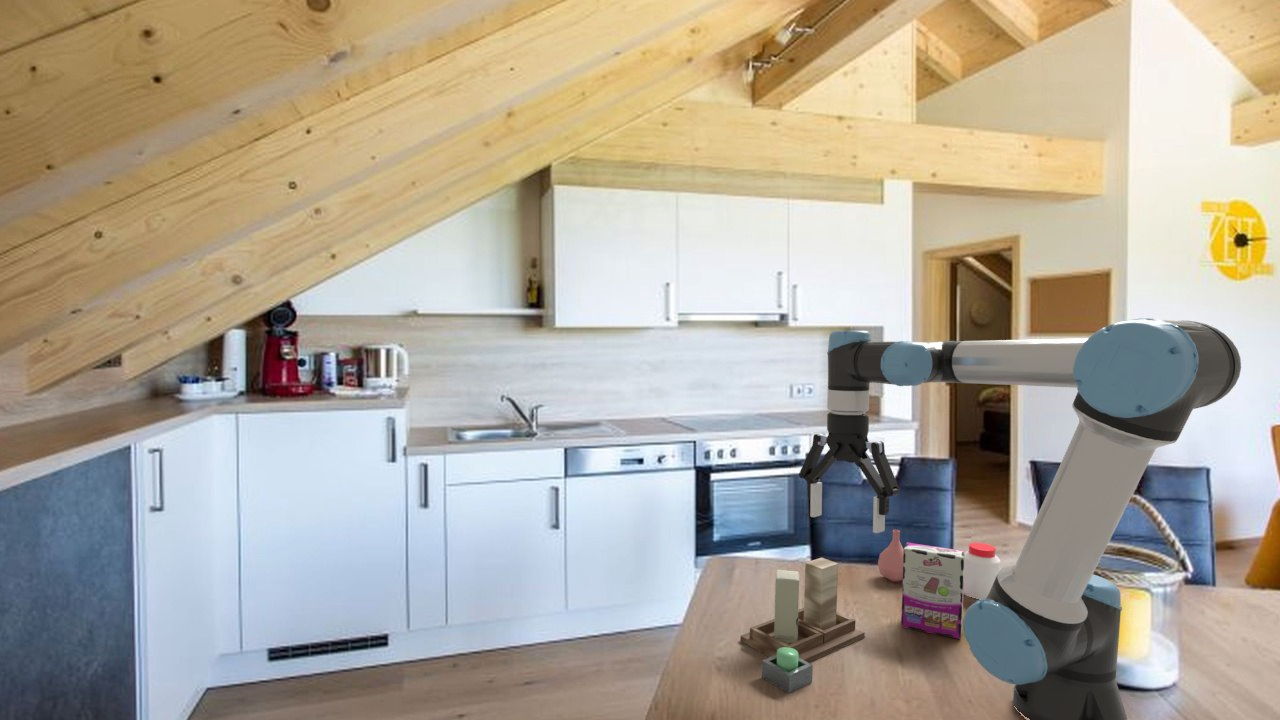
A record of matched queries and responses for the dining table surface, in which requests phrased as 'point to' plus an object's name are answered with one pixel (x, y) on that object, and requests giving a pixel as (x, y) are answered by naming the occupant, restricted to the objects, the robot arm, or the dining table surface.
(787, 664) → the button
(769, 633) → the tray
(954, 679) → the dining table surface
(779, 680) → the grey square tray
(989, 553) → the pill bottle
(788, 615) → the box
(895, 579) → the perfume bottle
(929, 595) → the candy bar box
